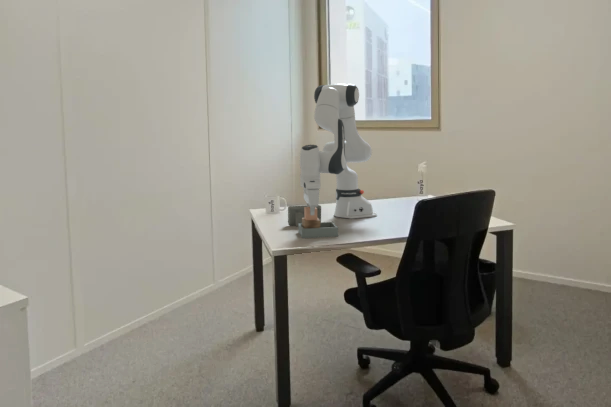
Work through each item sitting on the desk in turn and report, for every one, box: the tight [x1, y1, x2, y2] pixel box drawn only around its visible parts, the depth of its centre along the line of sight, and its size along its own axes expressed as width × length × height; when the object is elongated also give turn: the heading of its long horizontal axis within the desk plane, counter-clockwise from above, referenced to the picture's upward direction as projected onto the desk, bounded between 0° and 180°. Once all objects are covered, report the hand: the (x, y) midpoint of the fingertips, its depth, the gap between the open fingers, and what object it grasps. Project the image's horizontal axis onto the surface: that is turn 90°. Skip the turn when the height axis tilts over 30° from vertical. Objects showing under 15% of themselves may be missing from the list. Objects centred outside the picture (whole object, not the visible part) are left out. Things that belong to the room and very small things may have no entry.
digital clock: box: [287, 204, 322, 227], centre depth 274 cm, size 16×9×11 cm, turn 81°
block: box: [302, 217, 320, 229], centre depth 252 cm, size 7×8×7 cm
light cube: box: [304, 207, 317, 220], centre depth 251 cm, size 5×5×5 cm
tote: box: [297, 221, 339, 239], centre depth 253 cm, size 16×12×5 cm
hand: (310, 213), depth 251 cm, fingers open, 6 cm apart
